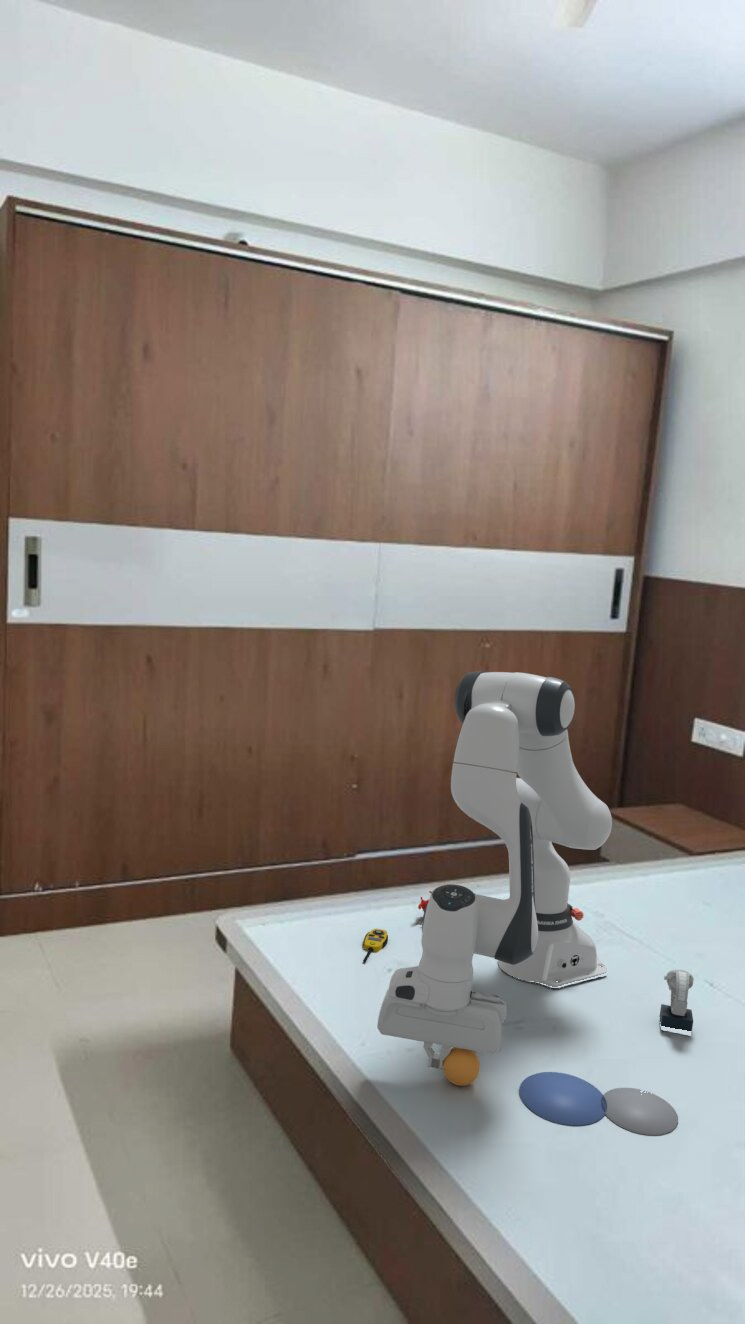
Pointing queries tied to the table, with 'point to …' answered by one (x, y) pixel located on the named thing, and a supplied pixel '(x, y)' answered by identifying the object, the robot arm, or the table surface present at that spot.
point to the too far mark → (639, 1111)
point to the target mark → (562, 1098)
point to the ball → (461, 1066)
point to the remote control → (375, 941)
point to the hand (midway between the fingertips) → (435, 1066)
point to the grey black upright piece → (678, 1001)
